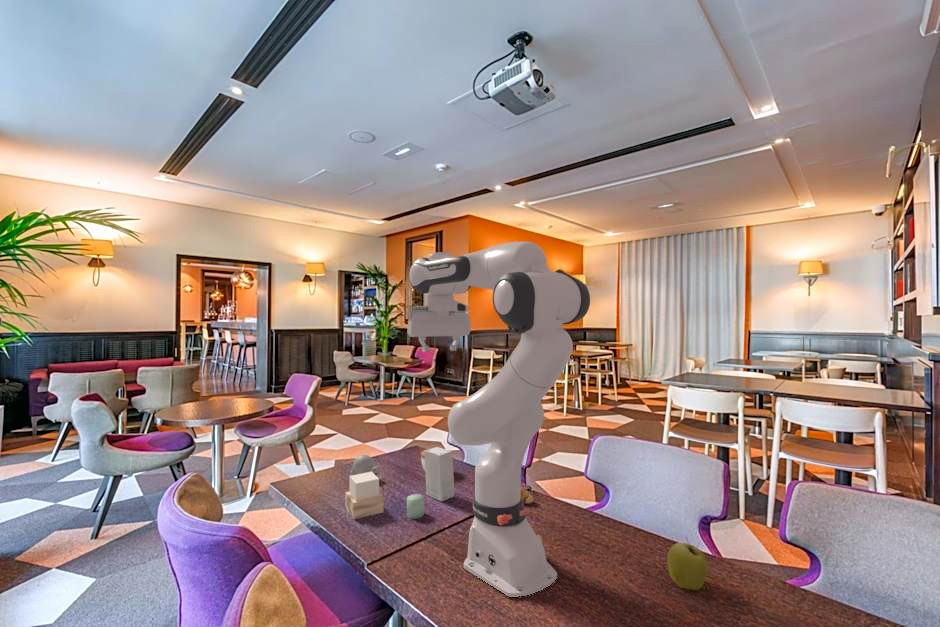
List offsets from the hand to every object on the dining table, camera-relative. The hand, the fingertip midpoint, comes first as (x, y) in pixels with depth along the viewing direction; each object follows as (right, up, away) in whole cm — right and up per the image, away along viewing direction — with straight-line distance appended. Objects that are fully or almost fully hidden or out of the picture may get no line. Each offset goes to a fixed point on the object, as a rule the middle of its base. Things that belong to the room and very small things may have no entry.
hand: (439, 351), depth 128 cm
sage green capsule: (-7, -48, -5) cm, 49 cm away
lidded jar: (-4, -49, +29) cm, 57 cm away
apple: (+56, -47, -38) cm, 83 cm away
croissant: (+20, -48, +7) cm, 53 cm away
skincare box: (-1, -48, +8) cm, 49 cm away
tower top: (-23, -43, -1) cm, 49 cm away
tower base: (-23, -48, -1) cm, 53 cm away
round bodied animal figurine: (-28, -49, +22) cm, 60 cm away
